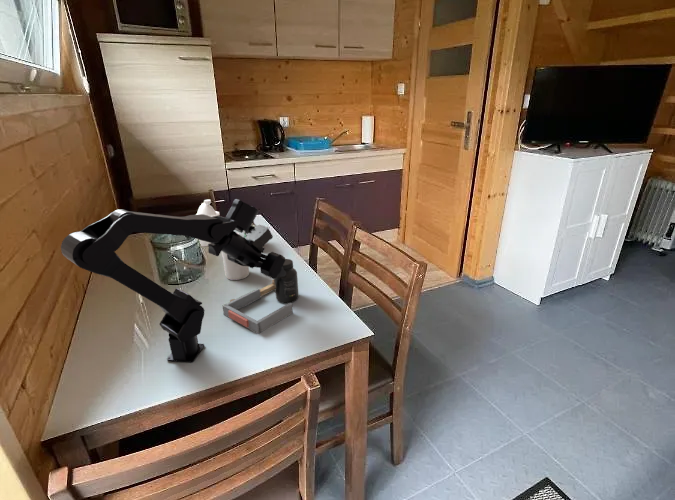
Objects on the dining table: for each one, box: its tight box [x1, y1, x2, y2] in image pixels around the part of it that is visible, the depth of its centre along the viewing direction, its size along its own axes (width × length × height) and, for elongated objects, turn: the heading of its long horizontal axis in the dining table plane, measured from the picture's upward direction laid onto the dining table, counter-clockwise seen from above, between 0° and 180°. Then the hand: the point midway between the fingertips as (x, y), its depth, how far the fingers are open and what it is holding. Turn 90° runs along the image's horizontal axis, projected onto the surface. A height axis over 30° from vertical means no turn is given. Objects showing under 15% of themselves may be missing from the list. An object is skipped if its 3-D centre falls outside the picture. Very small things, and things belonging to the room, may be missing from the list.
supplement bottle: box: [274, 258, 300, 304], centre depth 111 cm, size 7×7×12 cm
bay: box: [222, 287, 294, 334], centre depth 105 cm, size 13×15×3 cm
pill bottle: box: [221, 231, 250, 281], centre depth 126 cm, size 8×8×15 cm
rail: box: [229, 279, 275, 302], centre depth 114 cm, size 18×2×2 cm, turn 140°
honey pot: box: [195, 199, 221, 247], centre depth 158 cm, size 13×13×18 cm
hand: (273, 270), depth 107 cm, fingers open, 9 cm apart
